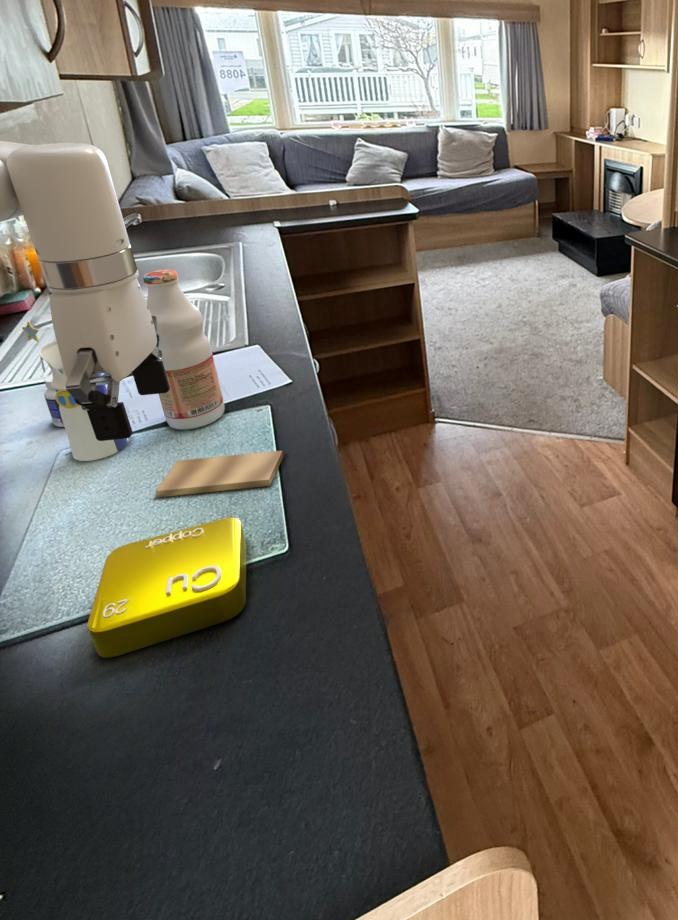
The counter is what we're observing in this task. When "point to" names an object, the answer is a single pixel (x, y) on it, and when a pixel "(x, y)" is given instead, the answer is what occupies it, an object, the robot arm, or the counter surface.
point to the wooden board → (220, 473)
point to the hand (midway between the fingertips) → (136, 414)
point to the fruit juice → (183, 355)
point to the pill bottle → (52, 402)
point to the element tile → (169, 587)
